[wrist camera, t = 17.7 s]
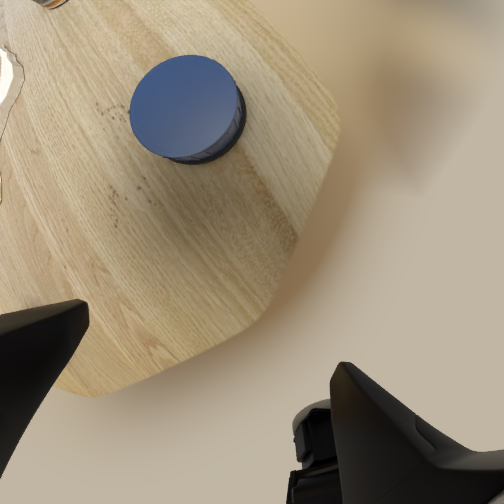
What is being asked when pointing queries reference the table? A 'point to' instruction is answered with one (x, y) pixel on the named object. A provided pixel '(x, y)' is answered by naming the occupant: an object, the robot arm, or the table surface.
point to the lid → (186, 108)
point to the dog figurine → (8, 86)
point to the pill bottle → (49, 3)
